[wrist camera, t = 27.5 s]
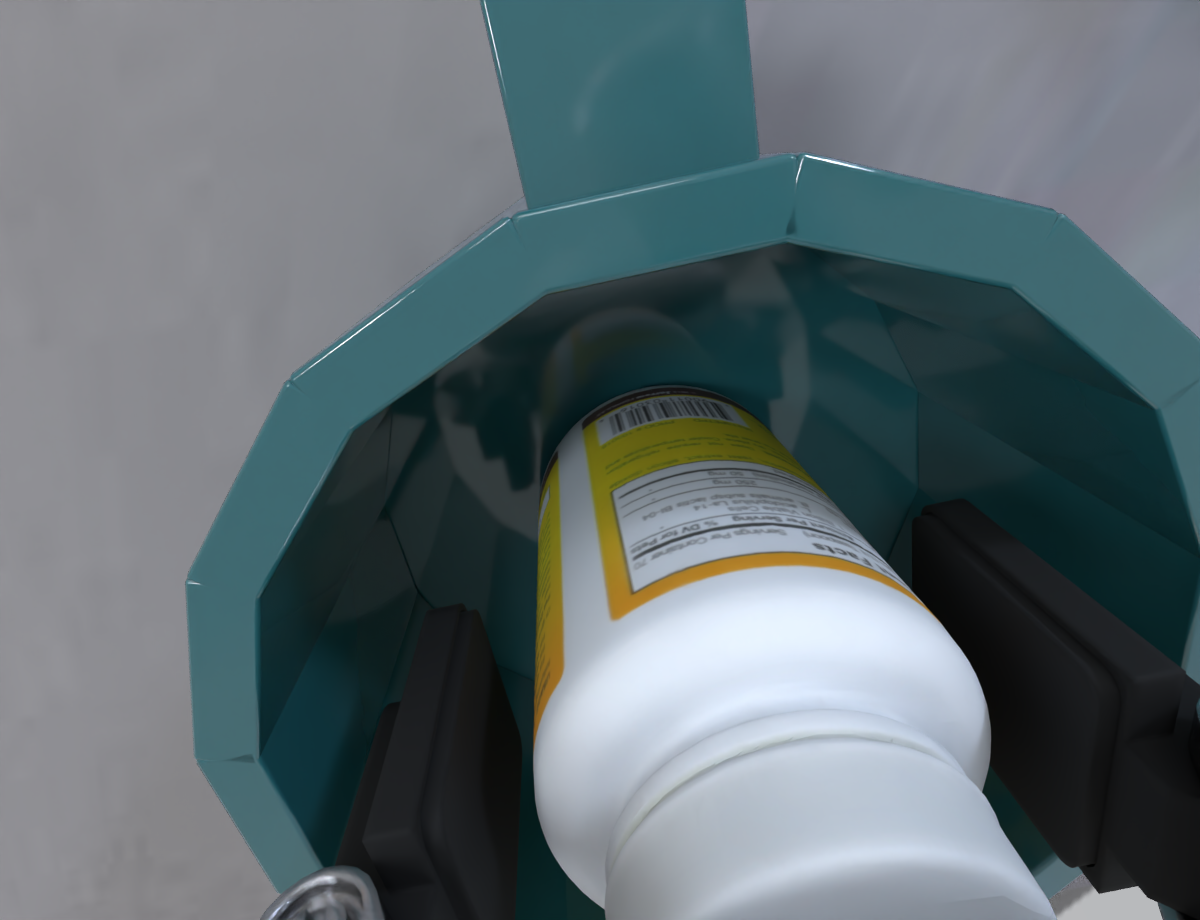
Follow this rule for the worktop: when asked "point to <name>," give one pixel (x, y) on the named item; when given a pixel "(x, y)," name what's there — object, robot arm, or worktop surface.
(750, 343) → the pot
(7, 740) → the worktop surface
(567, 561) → the supplement bottle
